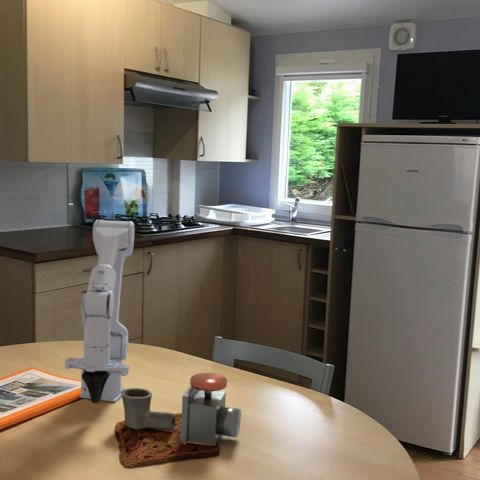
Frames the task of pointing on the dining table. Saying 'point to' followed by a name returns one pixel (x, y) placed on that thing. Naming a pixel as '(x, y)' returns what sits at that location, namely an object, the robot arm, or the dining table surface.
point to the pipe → (144, 411)
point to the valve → (207, 410)
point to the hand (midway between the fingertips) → (96, 401)
